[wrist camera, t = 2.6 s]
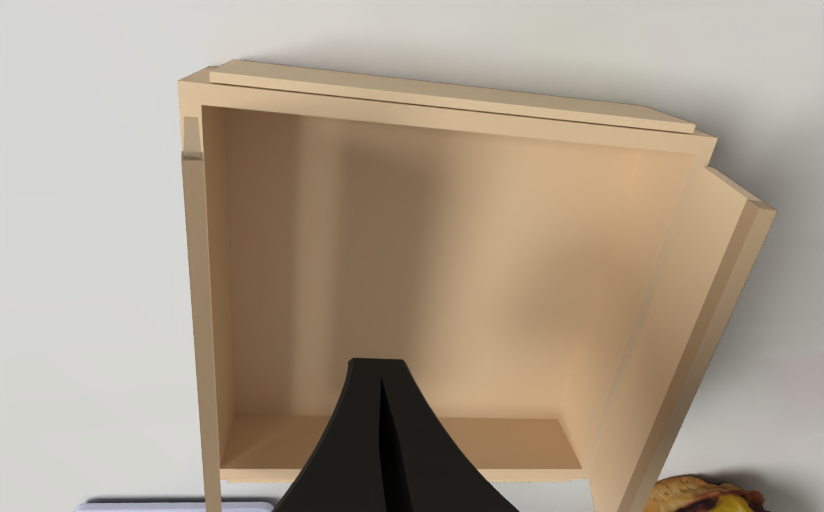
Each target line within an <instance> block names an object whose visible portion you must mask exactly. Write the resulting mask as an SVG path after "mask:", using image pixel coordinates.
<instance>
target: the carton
mask: <svg viewBox="0 0 824 512" xmlns="http://www.w3.org/2000/svg"><path fill="white" fill-rule="evenodd" d="M178 94H179V108H180V123H181V137H182V151H183V148H184V117H198V124H199V135H200V146H201V152H203V159H204V176H205V195H206V215H207V234H208V254H209V273H210V293H211V312H212V332H213V351H214V371H215V390H216V410H217V430H218V449H219V469H220V480H227V483H293V482H294V480H295V479H296V477H297V476H298V475H299V473H300V472H301V470H302V468H303V467H304V465H305V464H306V462H307V461H308V459H309V457H310V456H311V454H312V452H313V450H314V449H315V447H316V445H317V443H318V442H319V440H320V438H321V436H322V434H323V432H324V430H325V428H326V426H327V424H328V422H329V420H330V418H331V416H332V414H333V411H334V409H335V407H336V404H337V402H338V399H339V397H340V394H341V392H342V389H343V386H344V382H345V379H346V375H347V369H348V361H349V360H351V359H352V358H378V359H403V360H404V361H405V362H406V364H407V366H408V368H409V370H410V372H411V374H412V376H413V378H414V380H415V382H416V384H417V385H418V387H419V389H420V391H421V392H422V394H423V396H424V398H425V399H426V401H427V403H428V404H429V406H430V407H431V409H432V410H433V412H434V413H435V415H436V416H437V418H438V420H439V421H440V423H441V424H442V425H443V427H444V428H445V430H446V431H447V433H448V434H449V435H450V437H451V438H452V439H453V441H454V442H455V443H456V445H457V446H458V447H459V448H460V450H461V451H462V452H463V453H464V455H465V456H466V457H467V458H468V460H469V461H470V462H471V463H472V464H473V465H474V467H475V468H476V469H477V470H478V471H479V472H480V473H481V474H482V476H483V477H484V478H485V479H486V480H487V481H488V482H571V481H572V479H589V477H588V474H589V471H590V468H591V466H592V463H593V460H594V457H595V455H596V452H597V449H598V446H599V444H600V441H601V438H602V436H603V433H604V430H605V427H606V425H607V422H608V419H609V416H610V414H611V411H612V408H613V406H614V403H615V400H616V397H617V395H618V392H619V389H620V386H621V384H622V381H623V378H624V376H625V373H626V370H627V367H628V365H629V362H630V359H631V356H632V354H633V351H634V348H635V346H636V343H637V340H638V337H639V335H640V332H641V329H642V326H643V324H644V321H645V318H646V316H647V313H648V310H649V307H650V305H651V302H652V299H653V296H654V294H655V291H656V288H657V285H658V283H659V280H660V277H661V275H662V272H663V269H664V266H665V264H666V261H667V258H668V255H669V253H670V250H671V247H672V245H673V242H674V239H675V236H676V234H677V231H678V228H679V225H680V223H681V220H682V217H683V215H684V212H685V209H686V206H687V204H688V201H689V198H690V195H691V193H692V190H693V187H694V185H695V182H696V179H697V176H698V174H699V171H700V168H701V166H706V167H707V166H708V164H709V161H710V158H711V156H712V153H713V150H714V148H715V145H716V142H717V139H718V138H717V137H714V136H712V135H709V134H706V133H703V132H701V131H698V130H695V126H696V124H693V123H690V122H687V121H684V120H682V119H679V118H676V117H673V116H670V115H668V114H665V113H662V112H659V111H656V110H654V109H651V108H648V107H645V106H639V105H630V104H621V103H612V102H604V101H595V100H586V99H577V98H568V97H559V96H551V95H542V94H533V93H524V92H515V91H507V90H498V89H489V88H480V87H471V86H462V85H454V84H445V83H436V82H427V81H418V80H409V79H401V78H392V77H383V76H374V75H365V74H356V73H348V72H339V71H330V70H321V69H312V68H303V67H295V66H286V65H277V64H268V63H259V62H250V61H242V60H231V61H229V62H227V63H225V64H223V65H221V66H219V67H210V66H208V67H206V68H204V69H202V70H200V71H198V72H195V73H193V74H191V75H189V76H187V77H185V78H182V79H180V80H178Z"/></svg>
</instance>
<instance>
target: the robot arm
mask: <svg viewBox="0 0 824 512" xmlns="http://www.w3.org/2000/svg"><path fill="white" fill-rule="evenodd" d="M221 508H222V512H519V511H518V510H517V509H516V508H515V507H514V506H513V505H512V504H511V503H510V502H509V501H507V500H506V499H505V498H504V497H503V496H502V495H501V494H500V493H499V492H498V491H497V490H496V489H495V488H494V487H493V486H492V485H491V484H490V483H489V482H488V481H487V480H486V479H485V478H484V477H483V476H482V474H481V473H480V472H479V471H478V470H477V469H476V468H475V467H474V465H473V464H472V463H471V462H470V461H469V460H468V458H467V457H466V456H465V455H464V453H463V452H462V451H461V450H460V448H459V447H458V446H457V445H456V443H455V442H454V441H453V439H452V438H451V437H450V435H449V434H448V433H447V431H446V430H445V428H444V427H443V425H442V424H441V423H440V421H439V420H438V418H437V416H436V415H435V413H434V412H433V410H432V409H431V407H430V406H429V404H428V403H427V401H426V399H425V398H424V396H423V394H422V392H421V391H420V389H419V387H418V385H417V384H416V382H415V380H414V378H413V376H412V374H411V372H410V370H409V368H408V366H407V364H406V362H405V361H404V360H403V359H378V358H352V359H351V360H349V361H348V369H347V375H346V379H345V382H344V386H343V389H342V392H341V394H340V397H339V399H338V402H337V404H336V407H335V409H334V411H333V414H332V416H331V418H330V420H329V422H328V424H327V426H326V428H325V430H324V432H323V434H322V436H321V438H320V440H319V442H318V443H317V445H316V447H315V449H314V450H313V452H312V454H311V456H310V457H309V459H308V461H307V462H306V464H305V465H304V467H303V468H302V470H301V472H300V473H299V475H298V476H297V477H296V479H295V480H294V482H293V483H292V485H291V486H290V487H289V489H288V490H287V492H286V493H285V494H284V496H283V497H282V499H281V500H280V501H279V503H278V504H277V505H276V506H275V508H274V507H273V506H272V505H271V504H270V503H267V502H221ZM73 512H206V504H205V502H181V503H85V504H80V505H78V506H77V507H76V508H75V509H74V511H73Z"/></svg>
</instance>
